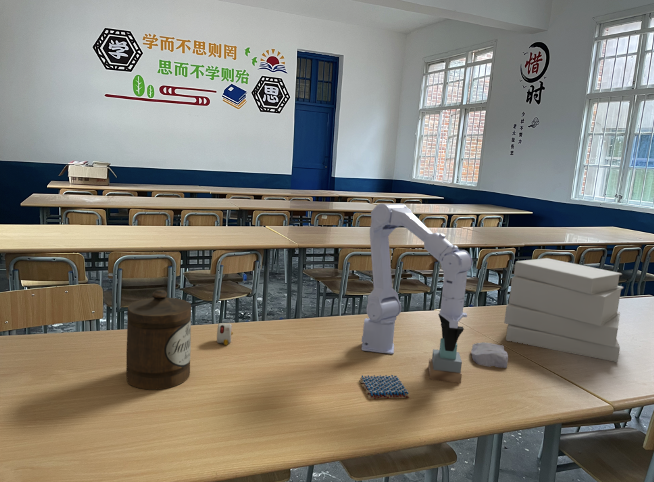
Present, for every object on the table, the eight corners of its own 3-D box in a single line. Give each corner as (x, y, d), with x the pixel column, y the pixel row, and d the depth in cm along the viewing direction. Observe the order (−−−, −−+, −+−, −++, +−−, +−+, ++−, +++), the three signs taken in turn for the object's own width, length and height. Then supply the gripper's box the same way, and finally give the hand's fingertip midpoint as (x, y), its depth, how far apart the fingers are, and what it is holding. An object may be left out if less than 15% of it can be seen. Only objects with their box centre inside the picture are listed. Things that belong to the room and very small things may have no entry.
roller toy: (233, 338, 147) (233, 320, 146) (231, 346, 141) (232, 327, 140) (218, 338, 146) (218, 320, 145) (216, 346, 140) (216, 327, 139)
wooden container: (186, 389, 113) (187, 299, 110) (119, 390, 111) (119, 298, 107) (193, 363, 128) (194, 283, 124) (134, 364, 125) (134, 281, 122)
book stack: (624, 368, 143) (638, 284, 139) (500, 343, 158) (510, 267, 154) (612, 338, 170) (624, 267, 166) (508, 319, 185) (516, 253, 181)
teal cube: (440, 357, 128) (441, 343, 128) (439, 352, 132) (440, 338, 131) (455, 359, 128) (457, 345, 127) (454, 353, 131) (455, 339, 131)
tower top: (433, 369, 127) (434, 359, 127) (432, 359, 134) (433, 349, 134) (460, 373, 126) (461, 362, 126) (457, 362, 133) (458, 352, 133)
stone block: (474, 371, 139) (510, 369, 137) (472, 355, 139) (509, 352, 137) (469, 357, 151) (503, 355, 149) (468, 342, 150) (501, 339, 148)
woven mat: (396, 380, 126) (397, 373, 126) (410, 400, 116) (411, 392, 116) (358, 381, 124) (358, 374, 124) (368, 401, 114) (369, 393, 114)
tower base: (429, 380, 128) (430, 370, 127) (428, 368, 135) (429, 358, 135) (460, 384, 126) (461, 374, 126) (457, 372, 134) (458, 361, 134)
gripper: (472, 305, 119) (466, 357, 122) (465, 291, 134) (460, 337, 136) (443, 302, 120) (438, 354, 123) (439, 288, 135) (434, 334, 137)
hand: (447, 345), depth 129 cm, fingers open, 7 cm apart
